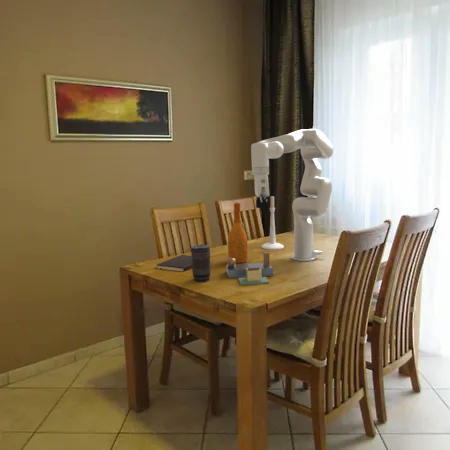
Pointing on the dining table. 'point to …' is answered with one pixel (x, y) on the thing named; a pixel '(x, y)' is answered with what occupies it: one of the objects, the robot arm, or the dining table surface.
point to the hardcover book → (177, 263)
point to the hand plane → (240, 269)
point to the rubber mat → (245, 282)
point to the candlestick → (272, 231)
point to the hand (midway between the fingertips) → (261, 209)
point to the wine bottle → (237, 238)
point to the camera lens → (200, 262)
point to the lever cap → (253, 274)
